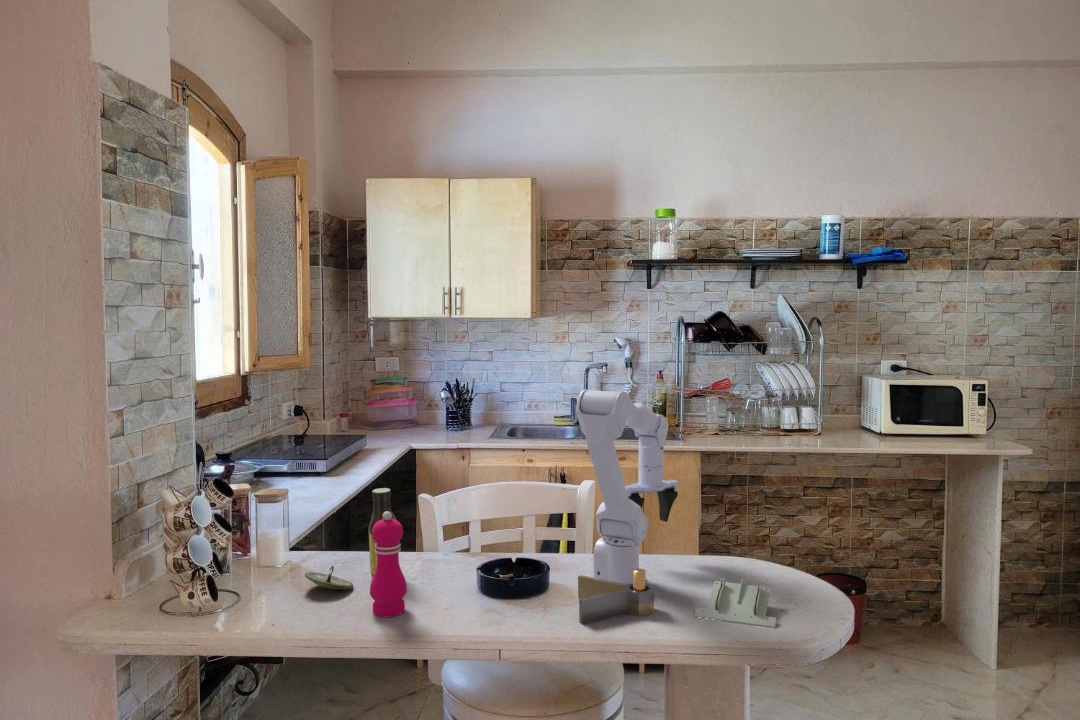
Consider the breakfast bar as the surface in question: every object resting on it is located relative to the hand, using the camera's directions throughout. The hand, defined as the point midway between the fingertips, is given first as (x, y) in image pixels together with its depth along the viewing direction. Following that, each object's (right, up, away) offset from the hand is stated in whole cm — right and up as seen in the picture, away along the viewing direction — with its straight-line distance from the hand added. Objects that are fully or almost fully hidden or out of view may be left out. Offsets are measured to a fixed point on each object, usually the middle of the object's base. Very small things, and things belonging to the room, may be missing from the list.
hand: (650, 522), depth 187 cm
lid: (-70, -11, -16) cm, 73 cm away
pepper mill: (-56, -12, -28) cm, 64 cm away
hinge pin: (-6, -12, -28) cm, 31 cm away
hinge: (-13, -12, -29) cm, 34 cm away
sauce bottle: (-60, -11, -9) cm, 62 cm away
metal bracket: (+13, -12, -29) cm, 34 cm away
